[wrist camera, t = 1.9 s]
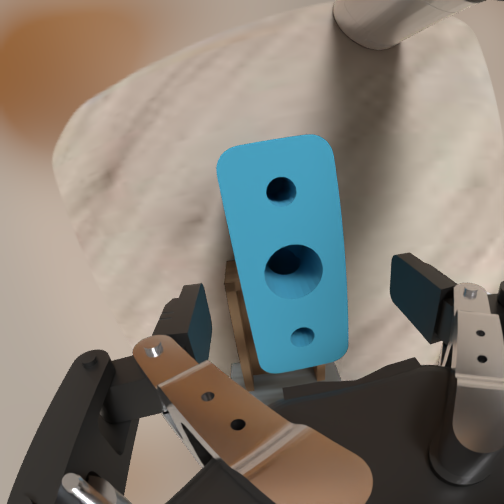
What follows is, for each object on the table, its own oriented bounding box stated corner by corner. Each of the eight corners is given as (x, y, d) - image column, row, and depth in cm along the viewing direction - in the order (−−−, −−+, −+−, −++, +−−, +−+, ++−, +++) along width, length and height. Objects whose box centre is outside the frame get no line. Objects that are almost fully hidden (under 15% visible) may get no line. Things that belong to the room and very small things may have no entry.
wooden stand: (209, 263, 35) (176, 412, 14) (327, 247, 34) (423, 369, 14) (234, 378, 41) (235, 513, 20) (328, 364, 41) (373, 490, 20)
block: (292, 246, 34) (348, 357, 15) (250, 254, 34) (262, 376, 16) (275, 143, 30) (329, 131, 11) (229, 151, 30) (212, 150, 12)
